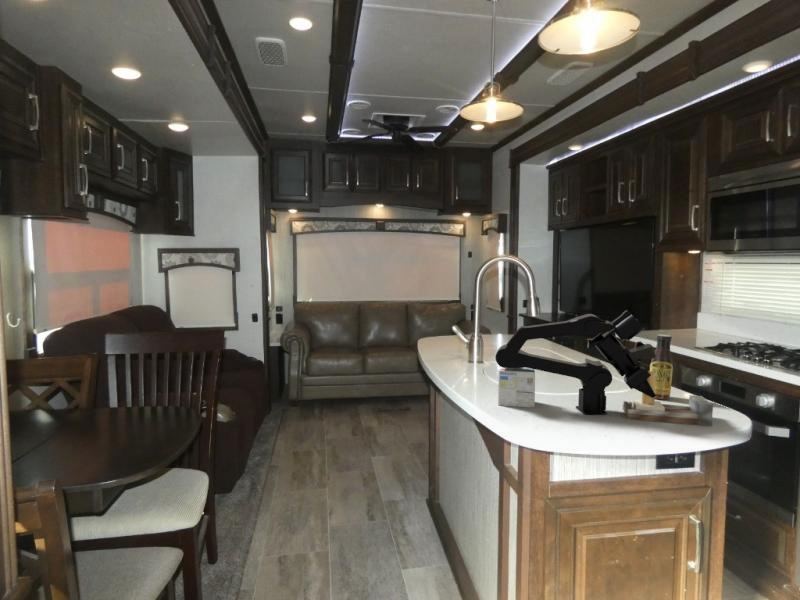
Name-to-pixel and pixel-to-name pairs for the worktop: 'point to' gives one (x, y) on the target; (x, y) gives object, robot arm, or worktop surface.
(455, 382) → the worktop surface
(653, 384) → the rail carriage
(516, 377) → the light bulb box
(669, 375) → the sauce bottle
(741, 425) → the worktop surface
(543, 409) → the worktop surface
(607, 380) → the robot arm
